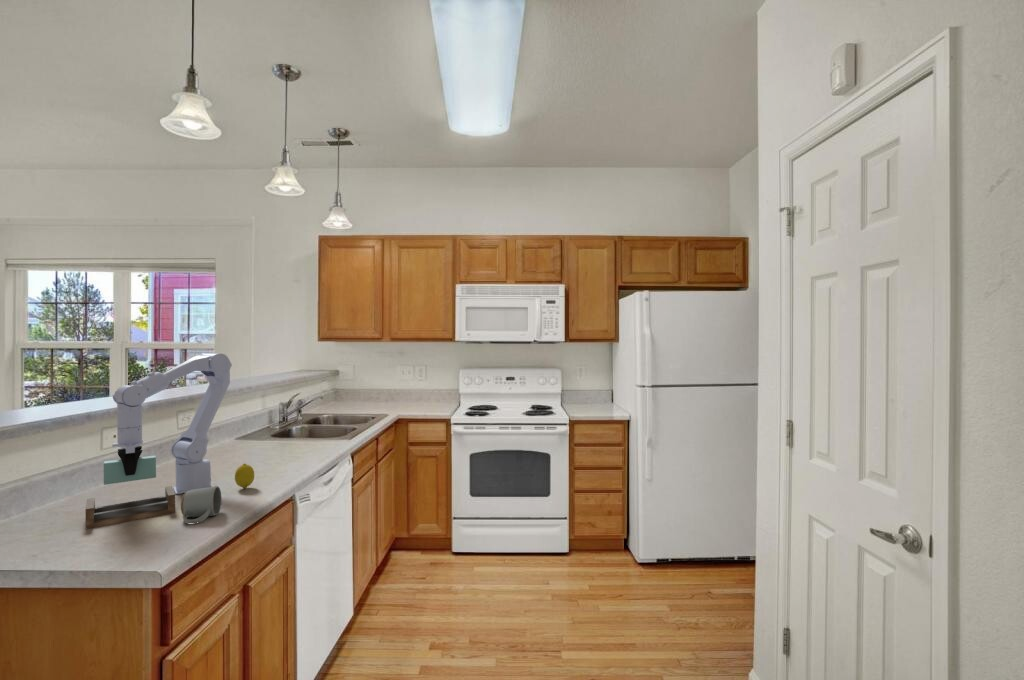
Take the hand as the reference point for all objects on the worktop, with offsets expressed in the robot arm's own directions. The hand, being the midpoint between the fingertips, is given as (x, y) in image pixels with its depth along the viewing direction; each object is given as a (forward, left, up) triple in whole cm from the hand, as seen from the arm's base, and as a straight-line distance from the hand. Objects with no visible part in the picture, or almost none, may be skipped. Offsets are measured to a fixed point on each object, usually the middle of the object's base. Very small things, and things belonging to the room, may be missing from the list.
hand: (130, 473), depth 147 cm
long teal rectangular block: (0, 0, -2) cm, 2 cm away
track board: (0, +11, -9) cm, 14 cm away
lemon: (-29, +4, -9) cm, 31 cm away
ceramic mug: (-15, +25, -9) cm, 30 cm away
